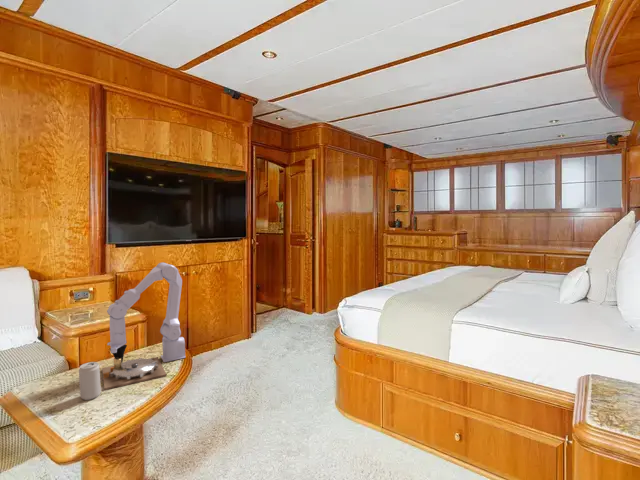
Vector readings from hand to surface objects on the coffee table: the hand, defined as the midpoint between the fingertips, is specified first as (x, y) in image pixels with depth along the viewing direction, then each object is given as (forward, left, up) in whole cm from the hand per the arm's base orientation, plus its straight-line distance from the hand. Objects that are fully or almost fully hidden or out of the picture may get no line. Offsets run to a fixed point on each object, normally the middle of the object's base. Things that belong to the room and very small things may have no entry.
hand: (119, 363), depth 155 cm
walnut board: (-5, +5, -4) cm, 8 cm away
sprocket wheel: (-5, +5, -2) cm, 7 cm away
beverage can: (+11, +18, -4) cm, 21 cm away
